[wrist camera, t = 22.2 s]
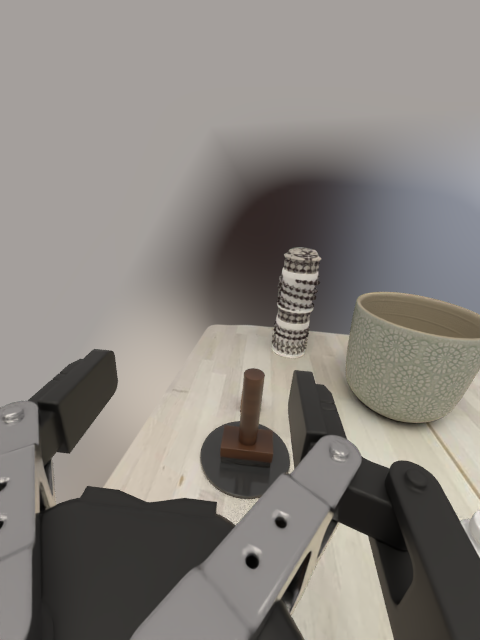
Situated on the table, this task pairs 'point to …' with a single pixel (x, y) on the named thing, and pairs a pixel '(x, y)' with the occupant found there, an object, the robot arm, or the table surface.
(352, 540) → the table surface
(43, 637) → the robot arm
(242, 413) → the wooden peg
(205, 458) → the plate
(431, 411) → the planter
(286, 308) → the white patterned cylinder
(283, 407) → the table surface
